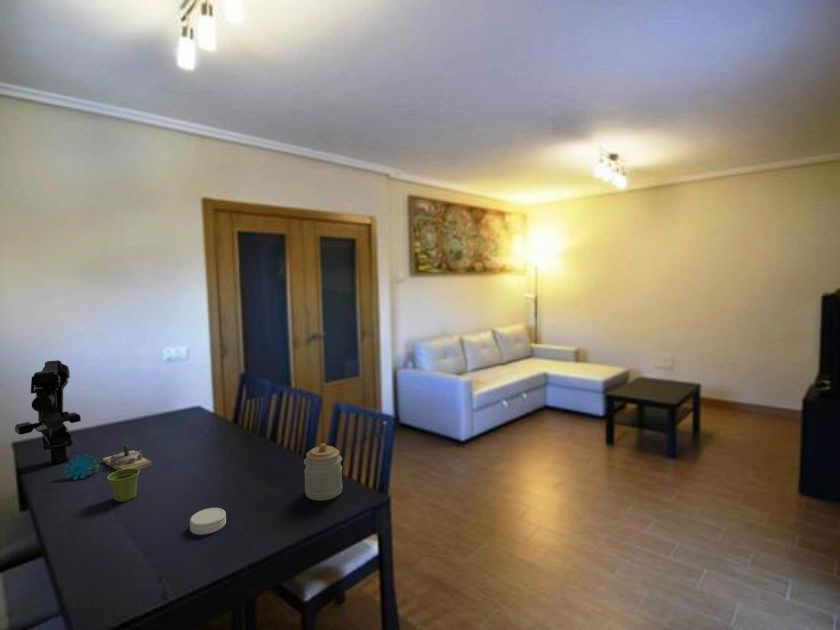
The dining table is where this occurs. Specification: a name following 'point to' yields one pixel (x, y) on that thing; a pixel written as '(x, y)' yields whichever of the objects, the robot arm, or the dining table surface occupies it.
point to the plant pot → (124, 483)
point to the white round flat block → (207, 521)
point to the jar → (323, 473)
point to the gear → (81, 467)
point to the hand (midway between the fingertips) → (50, 444)
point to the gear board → (135, 465)
